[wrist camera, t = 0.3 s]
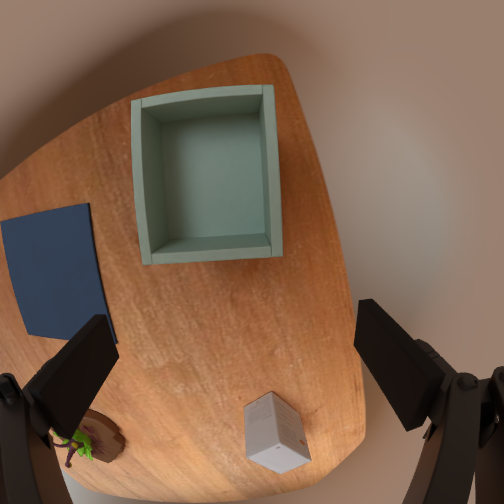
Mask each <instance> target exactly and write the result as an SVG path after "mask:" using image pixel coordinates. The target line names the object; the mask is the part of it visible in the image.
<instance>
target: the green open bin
mask: <svg viewBox="0 0 504 504" xmlns="http://www.w3.org/2000/svg"><path fill="white" fill-rule="evenodd" d="M131 148H132V171H133V187H134V199H135V210H136V219H137V228H138V236H139V244H140V251H141V257H142V264H143V265H152V264H171V263H188V262H204V261H221V260H237V259H252V258H268V257H271V256H272V257H282V256H283V233H282V208H281V186H280V168H279V151H278V135H277V121H276V107H275V95H274V85H239V86H224V87H213V88H203V89H195V90H187V91H180V92H174V93H168V94H162V95H157V96H152V97H147V98H142V99H137V100H132V101H131Z"/></svg>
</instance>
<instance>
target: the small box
mask: <svg viewBox="0 0 504 504" xmlns="http://www.w3.org/2000/svg"><path fill="white" fill-rule="evenodd" d="M244 419H245V442H246V458H248V459H250V460H252V461H254V462H256V463H258V464H260V465H262V466H264V467H266V468H268V469H270V470H272V471H274V472H277V473H279V474H282V473H284V472H287V471H289V470H292V469H294V468H297V467H299V466H301V465H303V464H306V463H308V462H310V461H311V456H310V452H309V448H308V444H307V440H306V437H305V433H304V429H303V425H302V421H301V417H300V414H299V413H298V412H297V411H296V410H294V409H293V408H292V407H291V406H289V405H288V404H287V403H285V402H284V401H283V400H282V399H280V398H279V397H278V396H277V395H276V394H274V393H273V392H272V391H271V392H269V393H268V394H266V395H264V396H262V397H261V398H259V399H257V400H255V401H254V402H252V403H250V404H248V405H247V406H245V407H244Z"/></svg>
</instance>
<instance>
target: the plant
mask: <svg viewBox="0 0 504 504" xmlns="http://www.w3.org/2000/svg"><path fill="white" fill-rule="evenodd" d="M50 429H51V430H52V431H53V432H54V433H53V434H54V435H56V436H57V434H56V433H55V431H54V430H53V429H52V427H51V428H50ZM117 431H118V427H117V426H116V425H115V424H114V423H113V422H112V421H111V420H110V419H108V418H107V417H106V416H104V415H102V414H100V413H98V412H95V411H92V410H90V409H88V410H87V412H86V414H85V415H84V417H83V419H82V421H81V422H80V424H79V426H78V428H77V430H76V432H75V433H74V435H73V437H72V439H71V440H68V439H65V438H62V437H59V436H58V437H59V438H60V439H61V440H62V441H63V444H62V445H58V444H55V443H54V442H53V444H54V446H56V447H62V448H63V447H67V449H68V451H69V453H68V456H67V461H66V463H65V466H66V467H68V468H71V467H72V464H71V463H70V460H71V457H72V455H73V453H75V451H76V450H77V452H78V454H79V455H80V456H81V457H82V456H83V454H85V455H86V456H87V457H88V458H89V459H90V460H93V458H92V457H94V458H96V459H98V460H101V461H104V462H107V463H109V462H112V461H113V460H114V459H116V457H117V454H118V452H123V450H124V447H125V445H124V443H123V442H124V437H123V436H122V435H121V434H119V433H118V432H117ZM51 437H52V440H53V436H51Z"/></svg>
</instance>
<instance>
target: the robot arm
mask: <svg viewBox="0 0 504 504" xmlns="http://www.w3.org/2000/svg"><path fill="white" fill-rule="evenodd" d="M354 347H355V348H356V350H357V352H358V353H359V355H360V356H361V358H362V359H363V361H364V363H365V364H366V365H367V367H368V369H369V370H370V372H371V374H372V375H373V377H374V378H375V380H376V381H377V383H378V385H379V386H380V388H381V390H382V391H383V393H384V394H385V396H386V398H387V400H388V401H389V403H390V404H391V406H392V408H393V409H394V411H395V413H396V415H397V416H398V418H399V419H400V421H401V423H402V425H403V426H404V428H405V430H406V431H410V430H413V429H415V428H417V427H420V426H422V425H423V424H424V422H425V420H426V418H427V416H428V417H429V418H430V420H431V421H432V422H431V424H430V426H429V427H428V429H427V431H426V433H425V434H424V436H423V439H425V437H426V439H425V443H424V446H423V450H422V453H421V456H420V459H419V462H418V465H417V468H416V471H415V473H414V476H413V479H412V481H411V484H410V487H409V489H408V491H407V494H406V496H405V498H404V500H403V503H402V504H467V502H468V498H469V494H470V490H471V485H472V481H473V476H474V470H475V489H476V504H504V366H501V367H497V368H496V369H495V370H494V372H493V374H492V376H491V378H488V379H482V380H478V379H477V377H476V376H474V375H472V374H470V373H457V372H456V371H455V370H454V369H453V368H452V367H451V366H450V365H449V364H448V363H447V362H446V361H445V360H444V359H443V358H442V357H441V356H440V355H439V354H438V353H437V352H436V351H435V350H434V349H433V348H432V347H431V346H430V345H429V344H428V343H426V342H424V341H422V340H420V339H417V340H413V339H412V338H411V337H410V335H409V334H407V332H406V331H405V330H403V329H402V327H401V326H399V324H398V323H396V322H395V320H394V319H393V318H391V317H390V316H389V315H388V314H387V313H386V312H385V311H384V310H383V309H382V308H381V307H380V306H379V305H378V304H377V303H376V302H375V301H374V300H373V299H365V300H359V304H358V315H357V323H356V331H355V338H354ZM118 358H119V354H118V351H117V348H116V345H115V342H114V339H113V336H112V332H111V329H110V326H109V322H108V319H107V315H106V314H95V315H94V316H93V317H92V318H91V319H90V320H89V321H88V322H87V323H86V324H85V325H84V326H83V327H82V328H81V329H80V330H79V331H78V332H77V333H76V334H75V335H74V336H73V337H72V338H71V339H70V340H69V341H68V342H67V344H66V345H65V346H64V347H63V348H62V349H61V350H60V351H59V352H58V353H57V354H56V355H55V356H54V357H53V358H52V359H50V360H48V361H47V362H46V363H45V364H44V365H43V366H42V367H41V369H39V371H38V372H37V374H35V375H34V376H33V377H32V379H31V380H30V381H29V382H28V383H27V384H26V385H25V387H24V388H23V389H22V390H21V388H20V386H19V385H18V383H17V381H16V379H15V377H14V375H12V374H11V373H3V374H1V375H0V504H73V502H72V499H71V497H70V494H69V492H68V489H67V487H66V484H65V481H64V478H63V475H62V472H61V469H60V466H59V462H58V459H57V455H56V452H55V448H54V444H53V440H52V437H51V435H50V433H49V432H48V431H49V430H50V428H51V427H52V429H53V430H54V431H55V433H56V434H57V436H59V437H62V438H65V439H68V440H71V439H72V437H73V435H74V433H75V432H76V430H77V428H78V426H79V424H80V422H81V421H82V419H83V417H84V415H85V414H86V412H87V410H88V408H89V407H90V405H91V403H92V401H93V400H94V398H95V396H96V395H97V393H98V391H99V390H100V388H101V386H102V385H103V383H104V381H105V380H106V378H107V376H108V375H109V373H110V371H111V370H112V368H113V366H114V365H115V363H116V362H117V360H118ZM497 416H498V417H499V421H498V418H497Z"/></svg>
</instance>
